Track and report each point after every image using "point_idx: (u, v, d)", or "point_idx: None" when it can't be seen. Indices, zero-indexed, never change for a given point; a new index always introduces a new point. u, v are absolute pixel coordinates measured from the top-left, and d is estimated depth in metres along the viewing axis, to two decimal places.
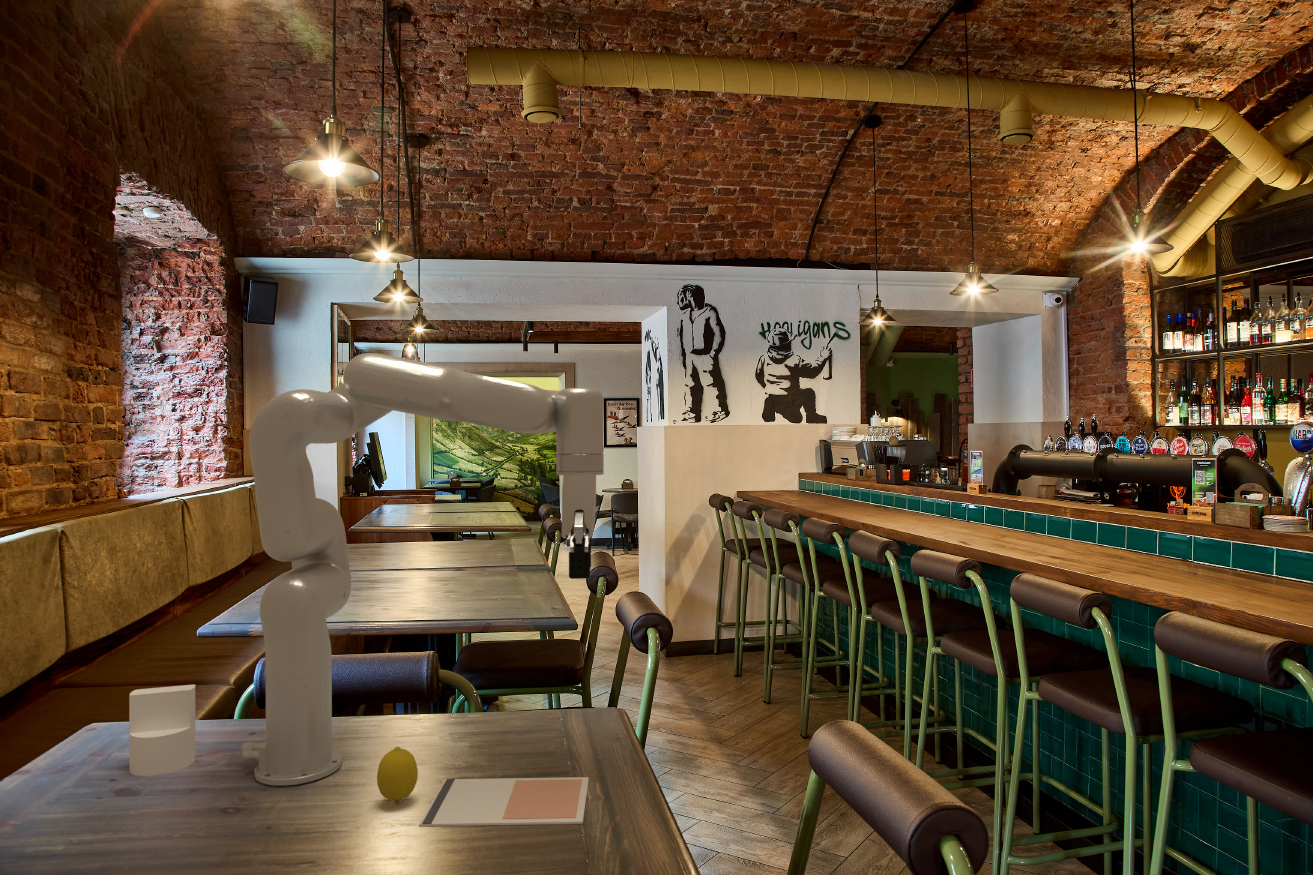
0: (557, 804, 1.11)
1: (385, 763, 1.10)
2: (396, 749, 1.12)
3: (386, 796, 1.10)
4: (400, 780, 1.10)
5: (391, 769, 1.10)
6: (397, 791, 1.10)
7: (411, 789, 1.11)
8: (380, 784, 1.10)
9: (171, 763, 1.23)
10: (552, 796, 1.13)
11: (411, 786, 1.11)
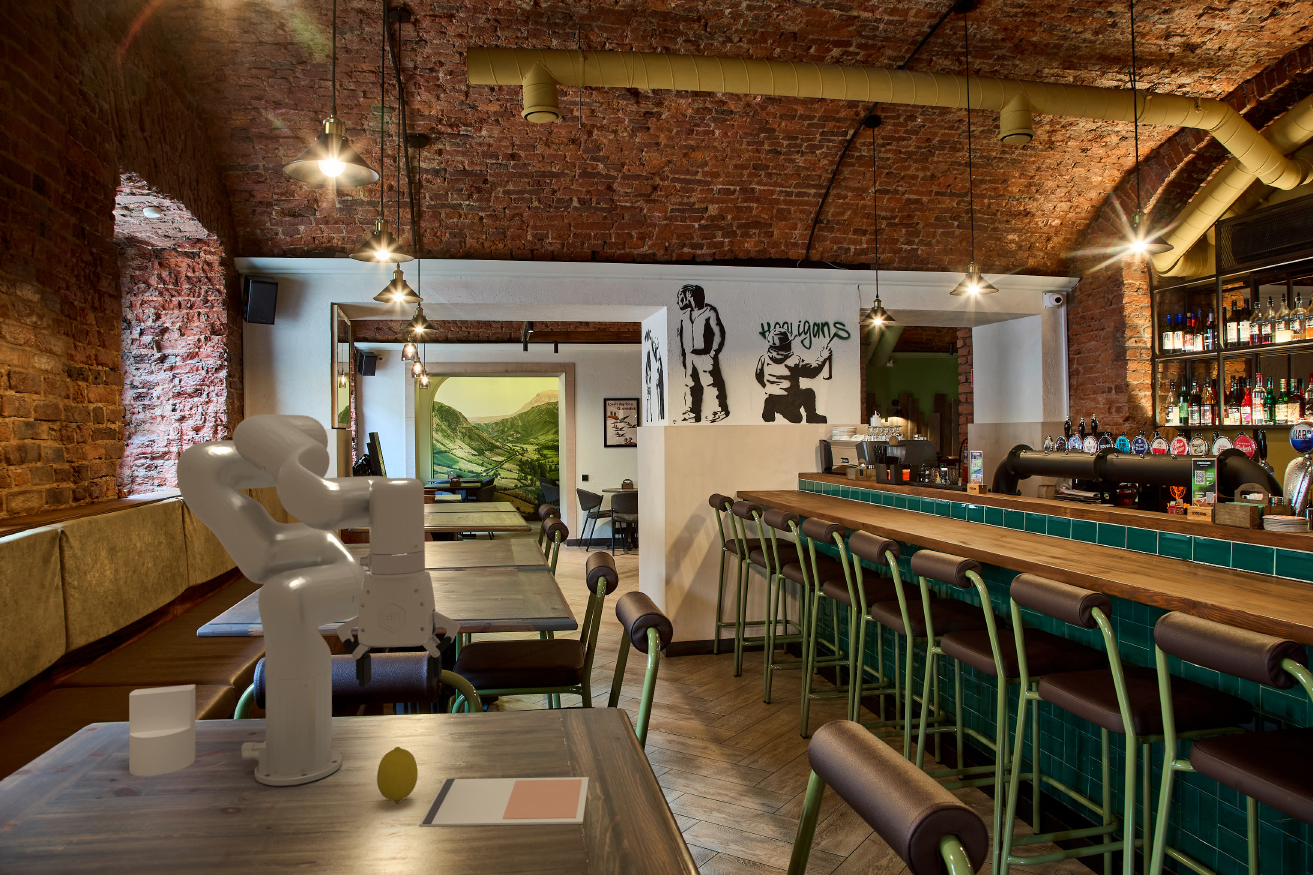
0: (557, 804, 1.11)
1: (385, 763, 1.10)
2: (396, 749, 1.12)
3: (386, 796, 1.10)
4: (400, 780, 1.10)
5: (391, 769, 1.10)
6: (397, 791, 1.10)
7: (411, 789, 1.11)
8: (380, 784, 1.10)
9: (171, 763, 1.23)
10: (552, 796, 1.13)
11: (411, 786, 1.11)
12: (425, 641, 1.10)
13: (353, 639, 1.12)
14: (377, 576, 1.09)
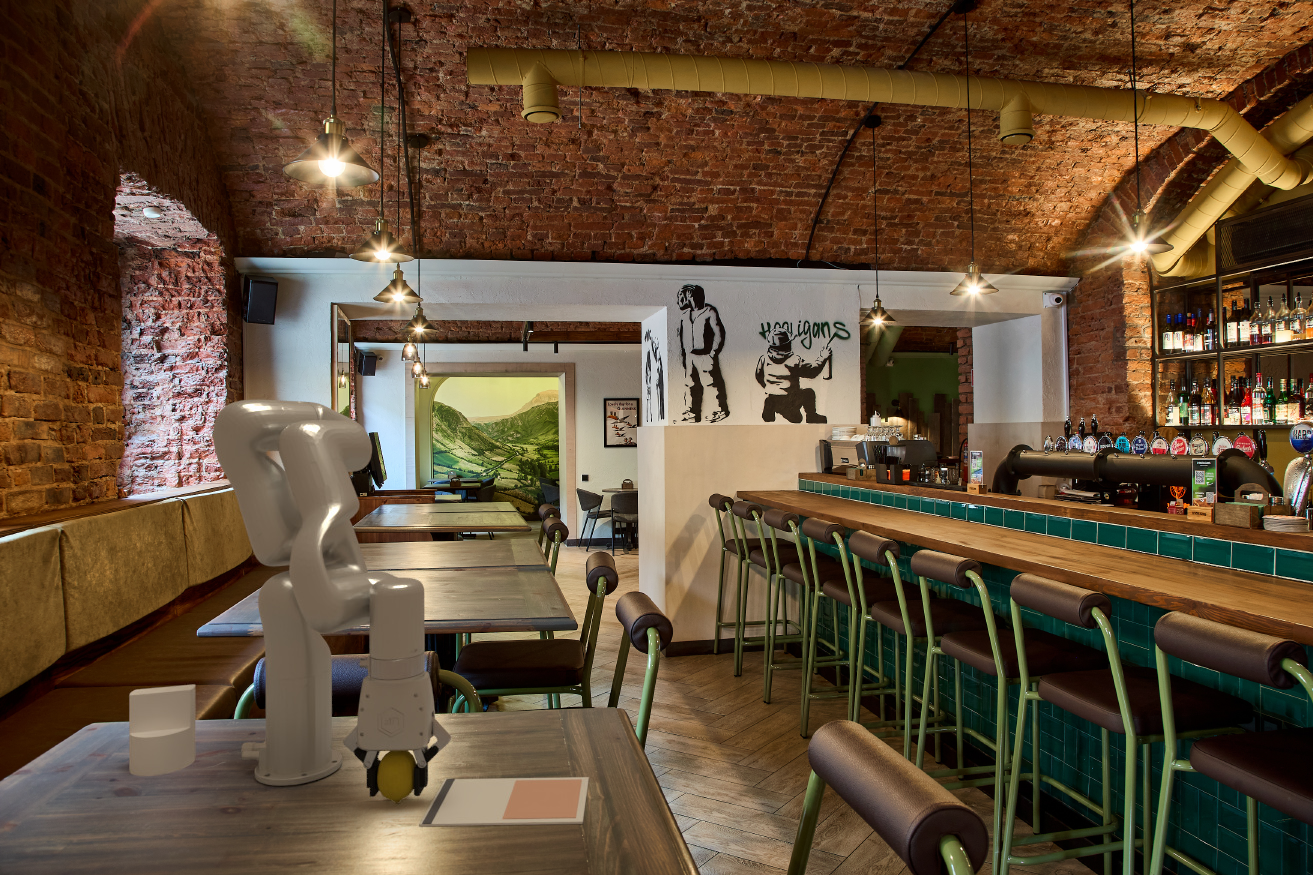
0: (557, 804, 1.11)
1: (385, 763, 1.10)
2: None
3: (386, 796, 1.10)
4: (400, 780, 1.10)
5: (391, 769, 1.10)
6: (397, 791, 1.10)
7: (411, 789, 1.11)
8: (380, 784, 1.10)
9: (171, 763, 1.23)
10: (552, 796, 1.13)
11: (411, 786, 1.11)
12: (424, 746, 1.10)
13: None
14: (377, 681, 1.09)
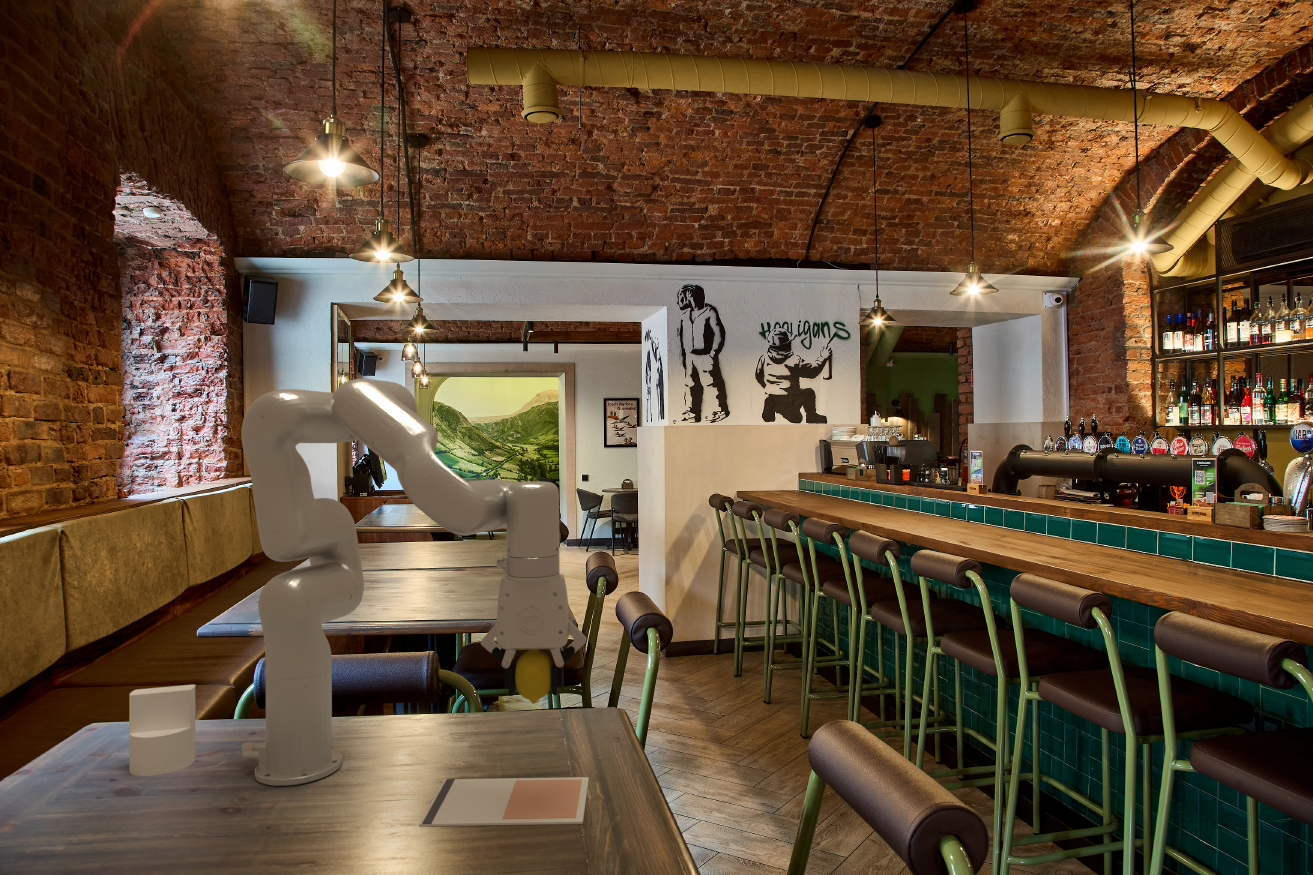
0: (557, 804, 1.11)
1: (524, 662, 1.11)
2: (533, 649, 1.12)
3: (525, 694, 1.11)
4: (539, 678, 1.10)
5: (531, 667, 1.10)
6: (536, 689, 1.10)
7: (549, 688, 1.12)
8: (519, 683, 1.11)
9: (171, 763, 1.23)
10: (552, 796, 1.13)
11: (549, 685, 1.12)
12: (563, 644, 1.10)
13: (500, 648, 1.13)
14: (517, 579, 1.10)
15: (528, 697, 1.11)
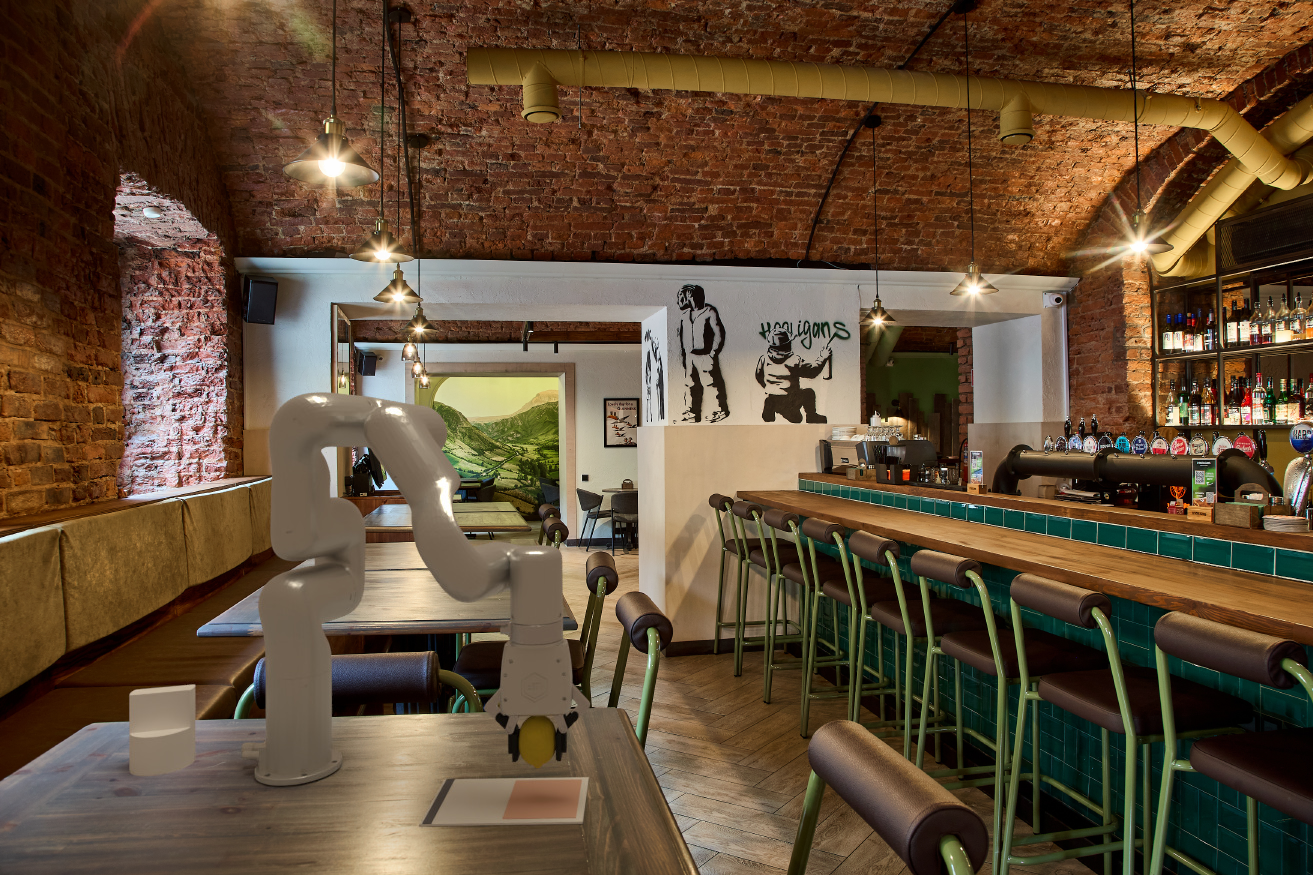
0: (557, 804, 1.11)
1: (527, 728, 1.11)
2: None
3: (529, 761, 1.11)
4: (543, 745, 1.10)
5: (535, 734, 1.10)
6: (540, 755, 1.10)
7: (552, 754, 1.12)
8: (523, 749, 1.11)
9: (171, 763, 1.23)
10: (552, 796, 1.13)
11: (552, 751, 1.12)
12: (567, 710, 1.10)
13: None
14: (520, 646, 1.10)
15: (532, 763, 1.11)
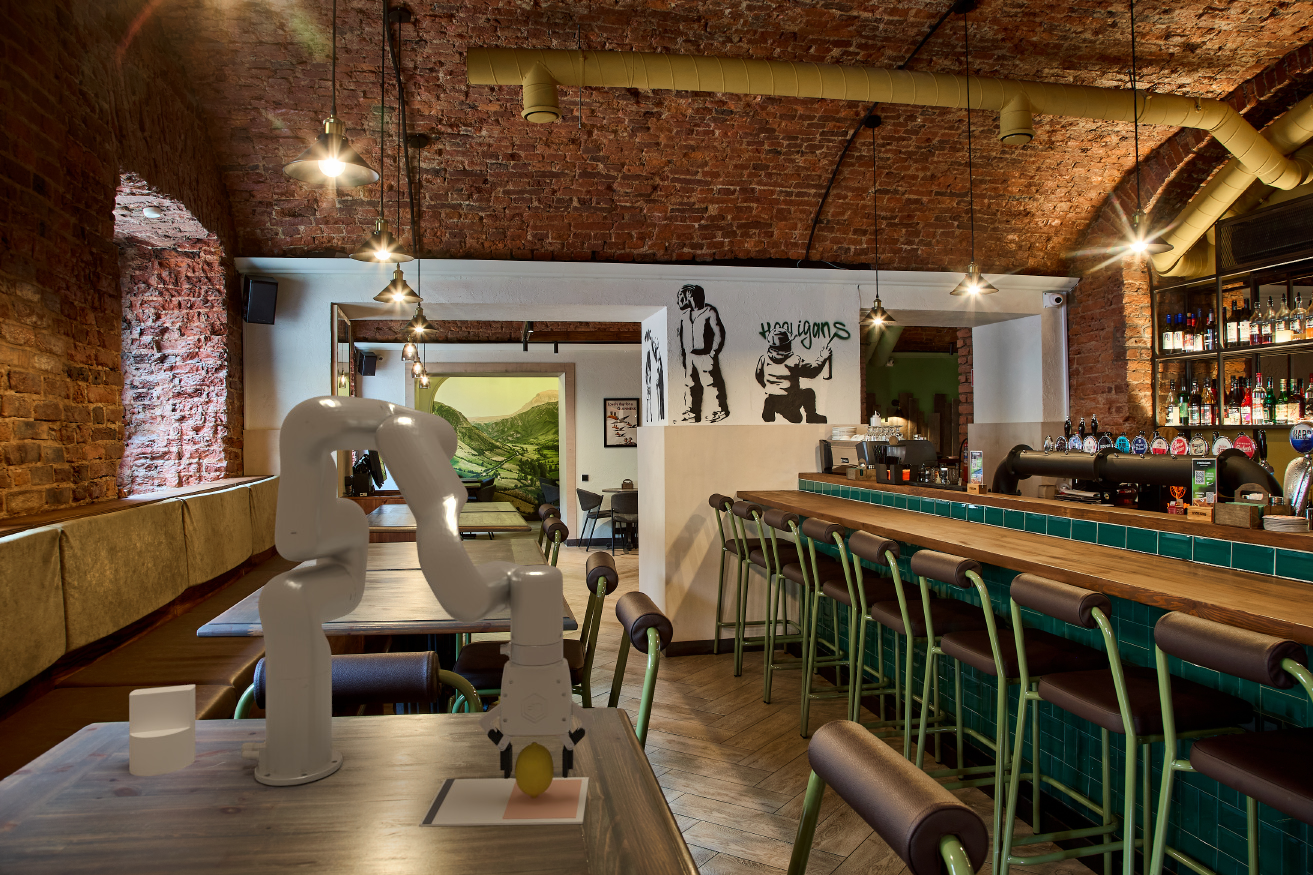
0: (557, 804, 1.11)
1: (524, 758, 1.11)
2: (533, 744, 1.12)
3: (526, 791, 1.11)
4: (540, 775, 1.10)
5: (531, 764, 1.10)
6: (537, 786, 1.10)
7: (549, 784, 1.12)
8: (520, 779, 1.11)
9: (171, 763, 1.23)
10: (552, 796, 1.13)
11: (549, 781, 1.12)
12: (566, 731, 1.10)
13: (496, 729, 1.13)
14: (520, 667, 1.10)
15: (528, 793, 1.11)
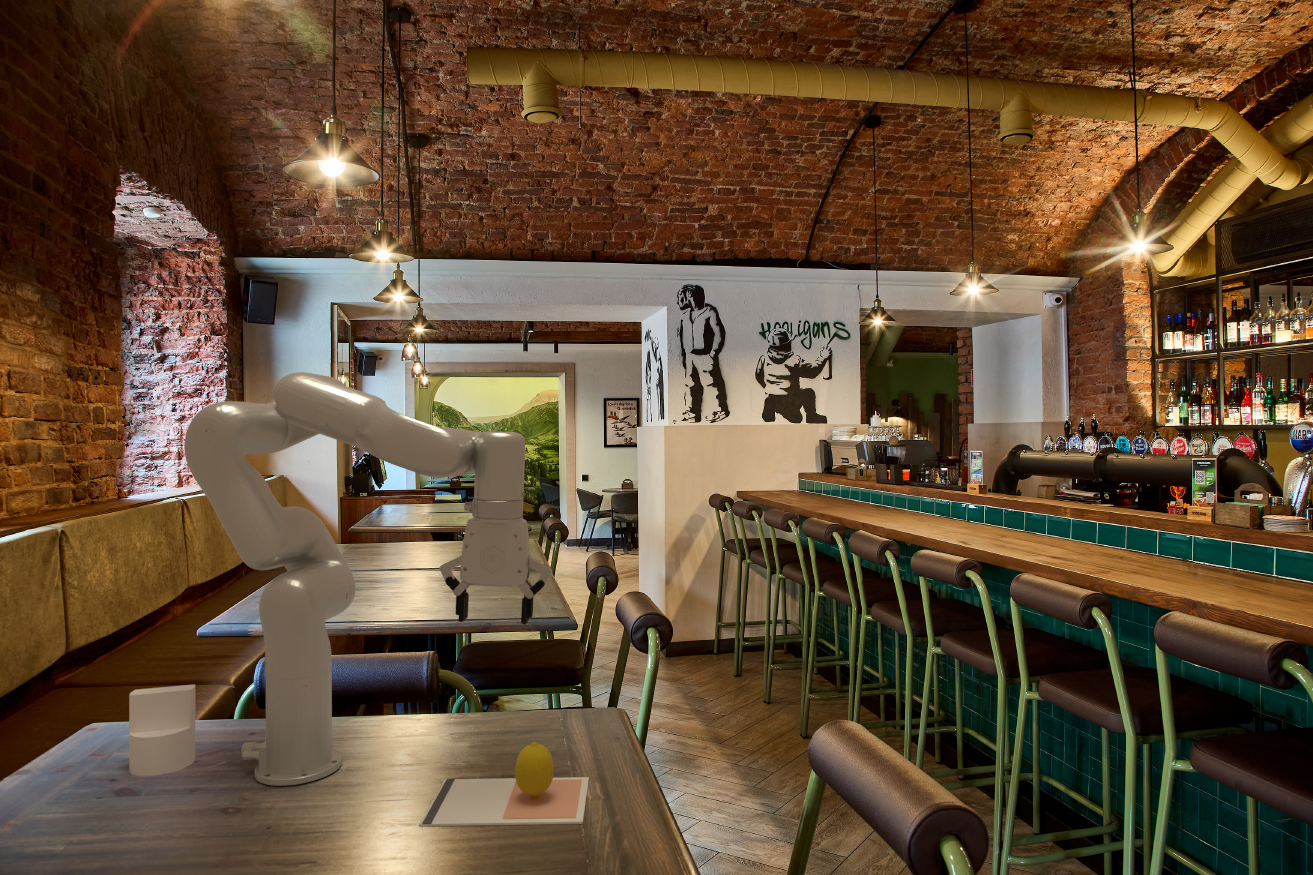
0: (557, 804, 1.11)
1: (524, 758, 1.11)
2: (533, 744, 1.13)
3: (526, 791, 1.11)
4: (540, 775, 1.10)
5: (531, 764, 1.10)
6: (537, 785, 1.10)
7: (549, 784, 1.12)
8: (520, 779, 1.11)
9: (171, 763, 1.23)
10: (552, 796, 1.13)
11: (549, 781, 1.12)
12: (521, 583, 1.19)
13: (454, 577, 1.22)
14: (481, 520, 1.18)
15: (528, 793, 1.11)
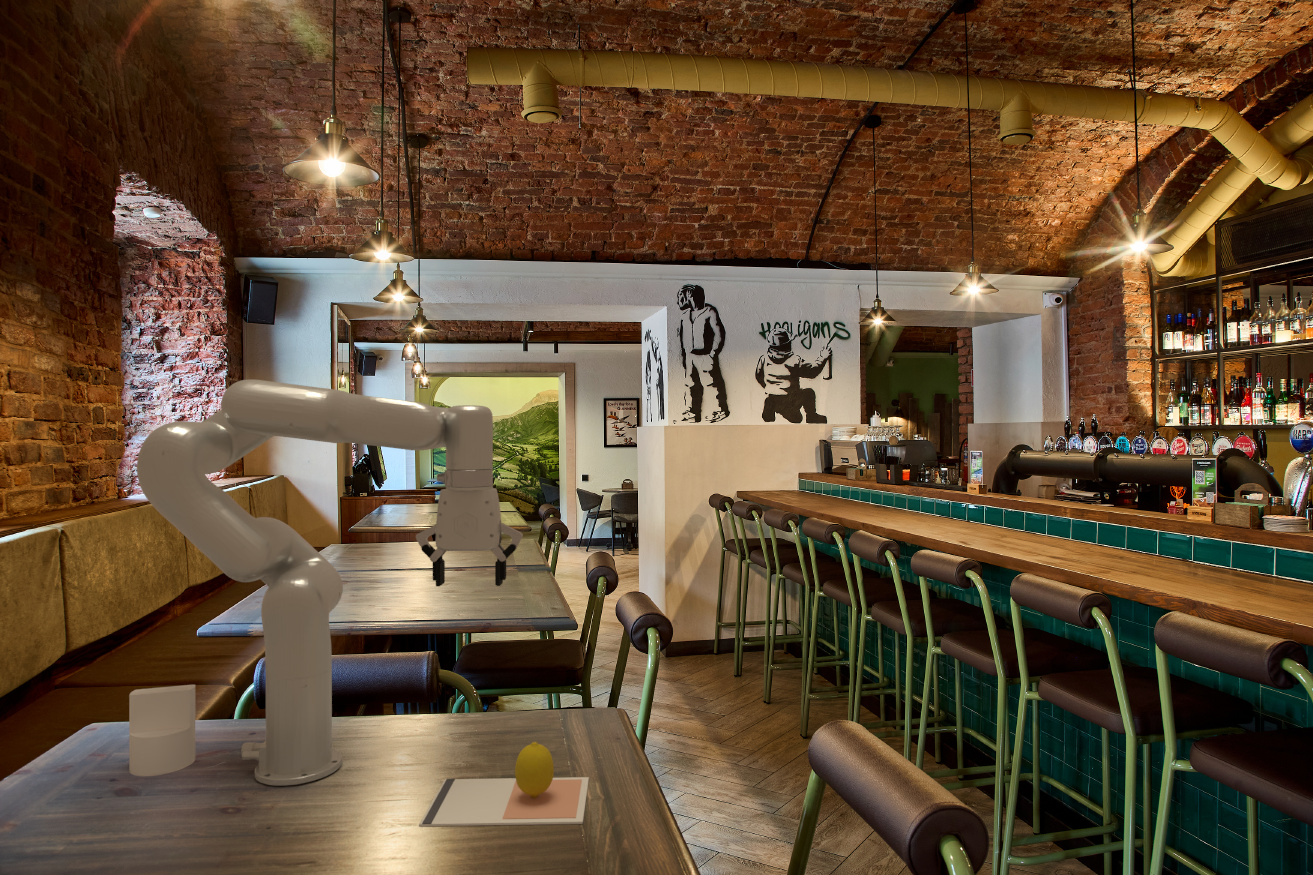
0: (557, 804, 1.11)
1: (524, 758, 1.11)
2: (534, 744, 1.13)
3: (526, 791, 1.11)
4: (540, 775, 1.10)
5: (532, 764, 1.10)
6: (537, 785, 1.10)
7: (549, 784, 1.12)
8: (520, 779, 1.11)
9: (171, 763, 1.23)
10: (552, 796, 1.13)
11: (549, 781, 1.12)
12: (494, 546, 1.26)
13: (430, 545, 1.29)
14: (453, 489, 1.25)
15: (528, 793, 1.11)
